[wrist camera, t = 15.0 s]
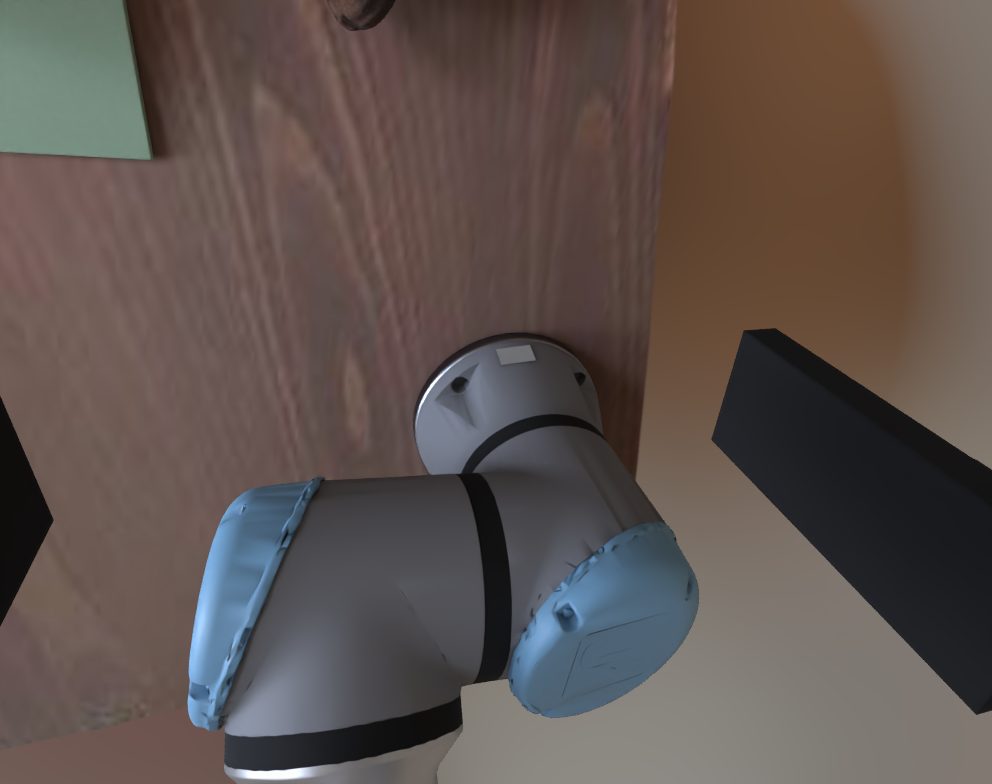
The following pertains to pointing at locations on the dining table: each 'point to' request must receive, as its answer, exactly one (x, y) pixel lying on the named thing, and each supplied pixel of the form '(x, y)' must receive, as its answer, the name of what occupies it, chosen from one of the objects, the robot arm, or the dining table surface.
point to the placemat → (70, 80)
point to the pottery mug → (360, 12)
